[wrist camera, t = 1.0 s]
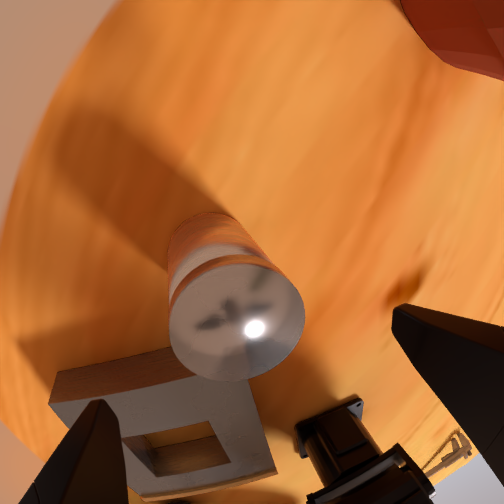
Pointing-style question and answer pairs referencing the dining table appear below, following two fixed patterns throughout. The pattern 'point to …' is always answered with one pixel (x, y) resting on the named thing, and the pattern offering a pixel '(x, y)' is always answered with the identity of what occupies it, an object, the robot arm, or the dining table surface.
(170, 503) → the billiard ball
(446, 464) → the caliper
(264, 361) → the grey cylinder
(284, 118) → the dining table surface
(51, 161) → the dining table surface
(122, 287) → the dining table surface
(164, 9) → the dining table surface
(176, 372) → the jig
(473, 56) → the potted plant
